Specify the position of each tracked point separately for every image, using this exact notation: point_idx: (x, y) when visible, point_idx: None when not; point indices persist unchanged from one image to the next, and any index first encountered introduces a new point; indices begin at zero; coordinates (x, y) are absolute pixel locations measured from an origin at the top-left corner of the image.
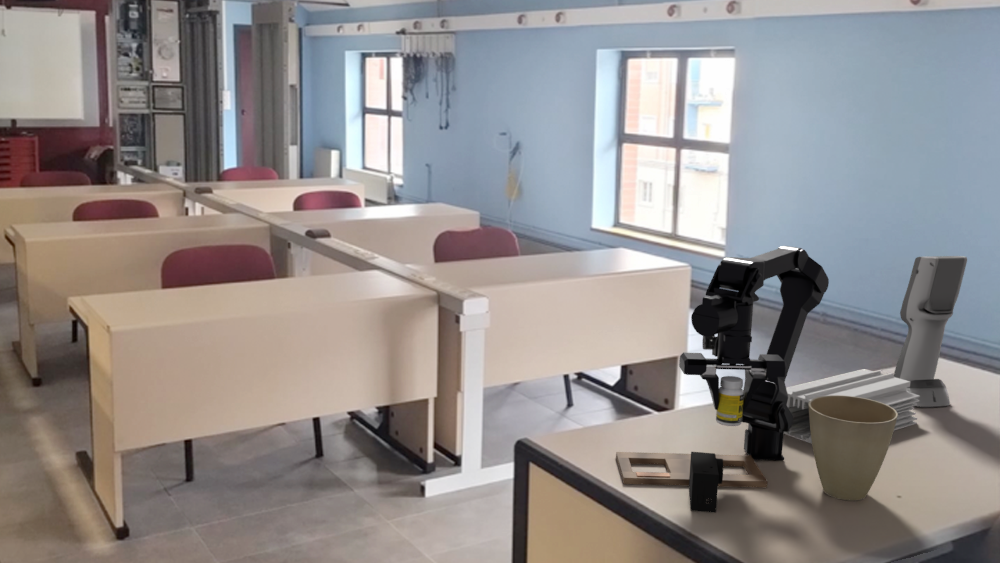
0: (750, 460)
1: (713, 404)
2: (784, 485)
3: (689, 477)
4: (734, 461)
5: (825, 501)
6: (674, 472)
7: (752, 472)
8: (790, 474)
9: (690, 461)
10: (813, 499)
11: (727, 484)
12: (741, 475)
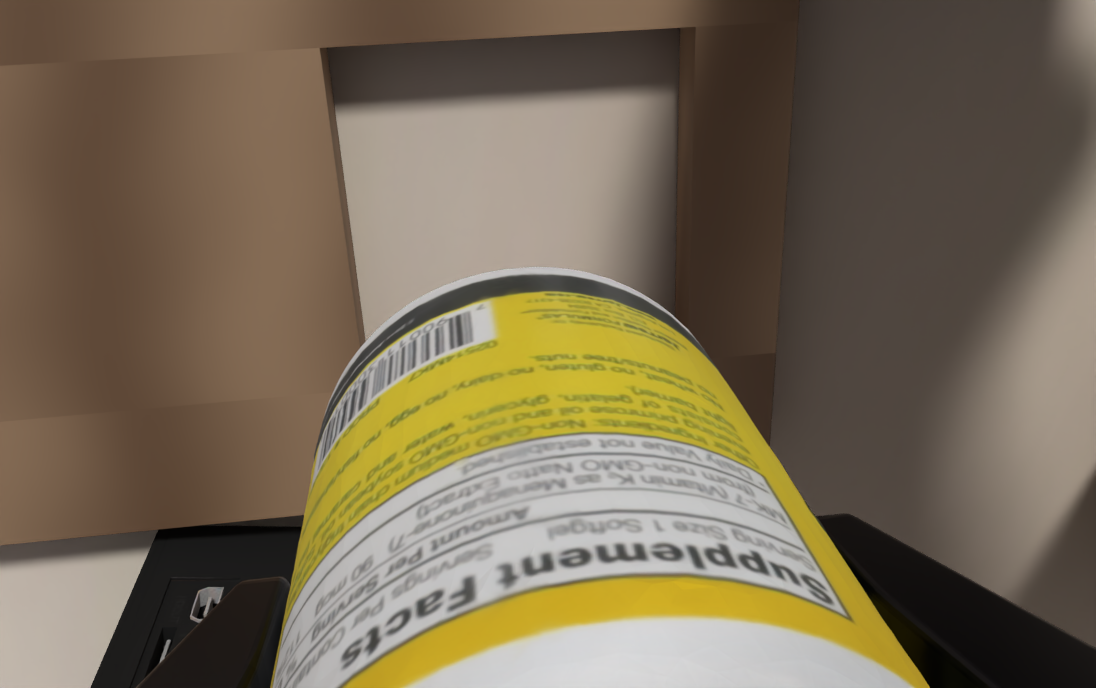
0: (764, 10)
1: (203, 630)
2: (894, 379)
3: (138, 580)
4: (600, 31)
5: (1050, 579)
6: (3, 415)
7: (699, 313)
8: (1032, 152)
9: (95, 677)
10: (990, 565)
11: None
12: None
